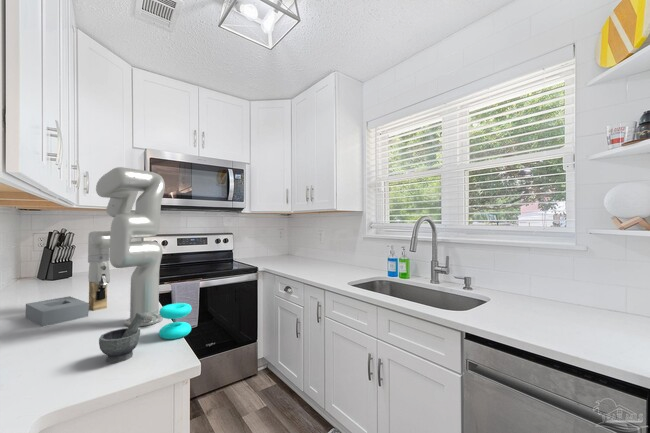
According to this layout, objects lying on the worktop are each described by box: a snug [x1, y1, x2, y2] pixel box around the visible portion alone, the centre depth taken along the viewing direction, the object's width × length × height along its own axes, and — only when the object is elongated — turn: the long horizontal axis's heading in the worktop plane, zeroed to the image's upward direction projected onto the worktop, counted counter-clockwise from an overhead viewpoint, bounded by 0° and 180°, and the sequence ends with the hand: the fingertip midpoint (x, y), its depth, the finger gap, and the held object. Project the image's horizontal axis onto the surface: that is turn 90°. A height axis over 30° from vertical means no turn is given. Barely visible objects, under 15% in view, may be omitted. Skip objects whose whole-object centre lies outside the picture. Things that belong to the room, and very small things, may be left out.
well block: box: [25, 295, 89, 328], centre depth 119 cm, size 20×14×6 cm
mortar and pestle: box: [98, 313, 146, 364], centre depth 84 cm, size 11×9×12 cm
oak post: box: [88, 281, 108, 311], centre depth 131 cm, size 5×5×12 cm
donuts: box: [158, 302, 192, 340], centre depth 101 cm, size 10×10×10 cm
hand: (97, 298), depth 131 cm, fingers closed on oak post, 5 cm apart
